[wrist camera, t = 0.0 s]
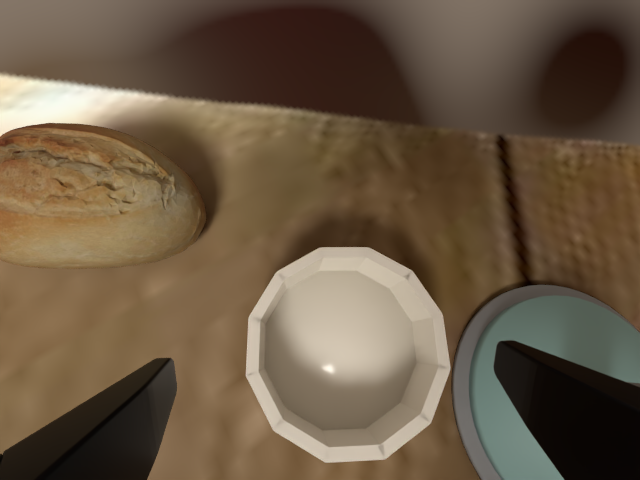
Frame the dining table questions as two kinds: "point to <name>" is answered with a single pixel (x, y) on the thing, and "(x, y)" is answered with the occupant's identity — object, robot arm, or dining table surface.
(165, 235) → the bread roll
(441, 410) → the dining table surface
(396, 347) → the bowl
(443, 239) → the dining table surface
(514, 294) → the mat
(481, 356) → the lid
